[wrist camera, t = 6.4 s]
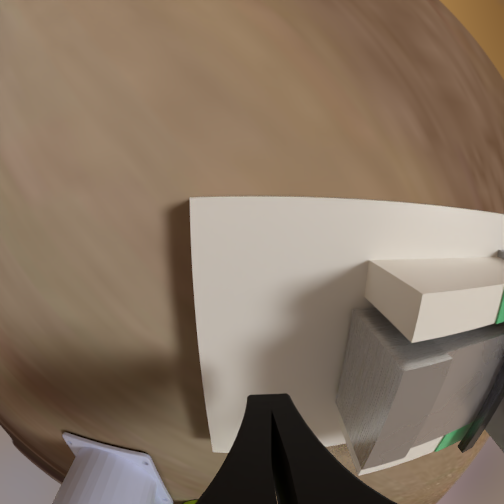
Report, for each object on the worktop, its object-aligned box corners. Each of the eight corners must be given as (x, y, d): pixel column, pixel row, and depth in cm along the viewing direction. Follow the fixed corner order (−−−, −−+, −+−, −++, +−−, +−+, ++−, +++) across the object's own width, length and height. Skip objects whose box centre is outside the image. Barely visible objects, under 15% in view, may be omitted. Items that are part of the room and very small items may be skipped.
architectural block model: (515, 215, 12) (619, 244, 3) (469, 390, 15) (529, 458, 6) (196, 196, 11) (39, 225, 2) (214, 434, 14) (203, 567, 5)
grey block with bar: (485, 258, 10) (549, 285, 6) (443, 398, 12) (478, 443, 8) (358, 262, 10) (425, 309, 6) (328, 427, 12) (350, 494, 8)
